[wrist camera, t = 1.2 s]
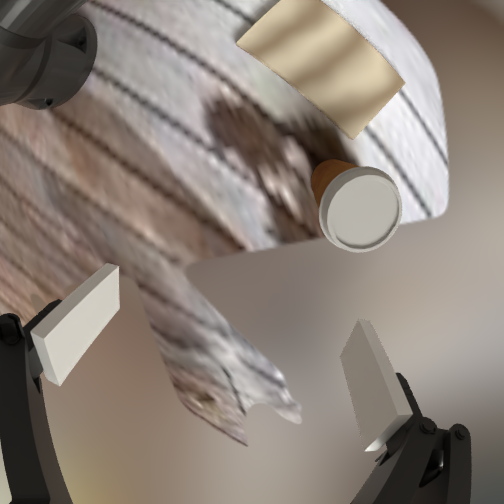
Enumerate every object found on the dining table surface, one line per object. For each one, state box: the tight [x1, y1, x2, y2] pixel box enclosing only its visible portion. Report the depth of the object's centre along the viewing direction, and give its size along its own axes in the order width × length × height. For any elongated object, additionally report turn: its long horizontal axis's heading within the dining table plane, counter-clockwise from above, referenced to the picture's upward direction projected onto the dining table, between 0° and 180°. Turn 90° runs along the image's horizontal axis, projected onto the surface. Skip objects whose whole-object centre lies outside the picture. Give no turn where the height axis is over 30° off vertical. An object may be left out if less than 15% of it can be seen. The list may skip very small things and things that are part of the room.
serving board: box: [236, 0, 405, 140], centre depth 27 cm, size 19×12×2 cm, turn 51°
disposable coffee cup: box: [311, 159, 402, 252], centre depth 31 cm, size 10×10×12 cm
